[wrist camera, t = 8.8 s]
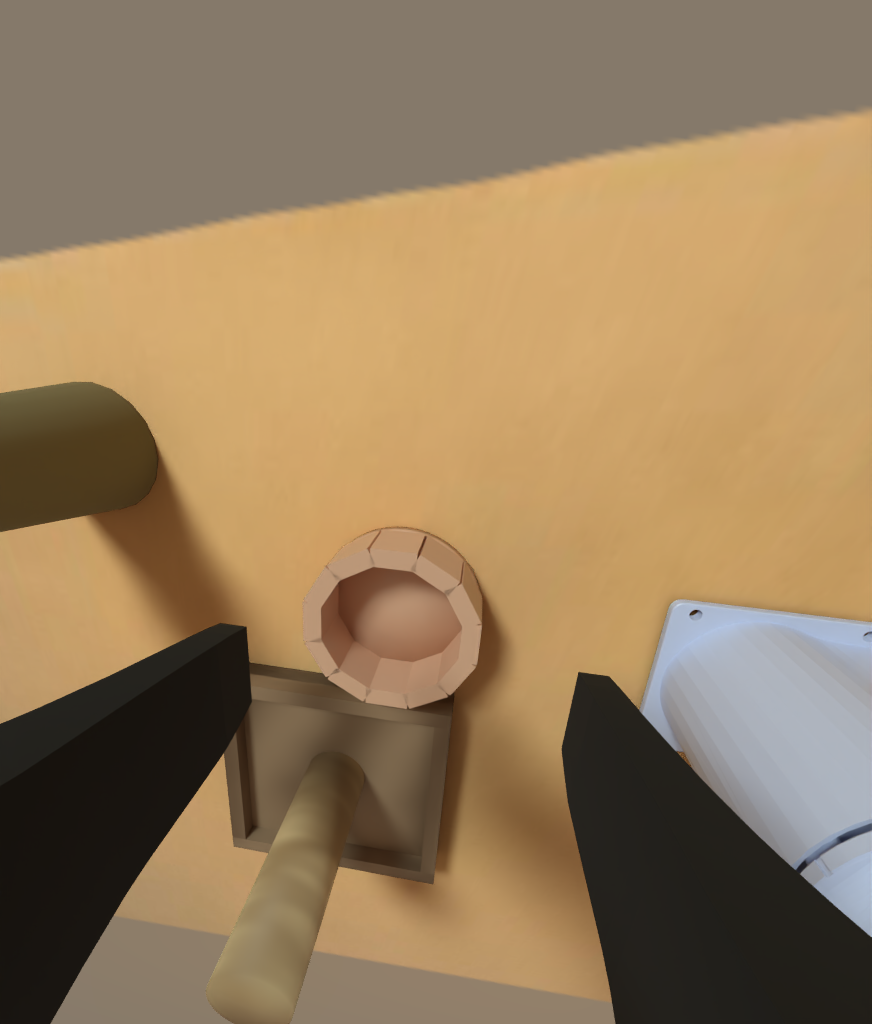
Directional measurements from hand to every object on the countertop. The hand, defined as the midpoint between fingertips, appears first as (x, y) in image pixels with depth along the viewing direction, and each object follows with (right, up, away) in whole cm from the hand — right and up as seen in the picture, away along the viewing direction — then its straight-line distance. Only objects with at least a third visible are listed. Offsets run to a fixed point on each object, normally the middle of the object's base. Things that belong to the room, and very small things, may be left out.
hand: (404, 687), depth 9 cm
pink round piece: (-1, 0, +11) cm, 11 cm away
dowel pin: (-5, -11, +14) cm, 18 cm away
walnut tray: (-5, -11, +15) cm, 19 cm away
